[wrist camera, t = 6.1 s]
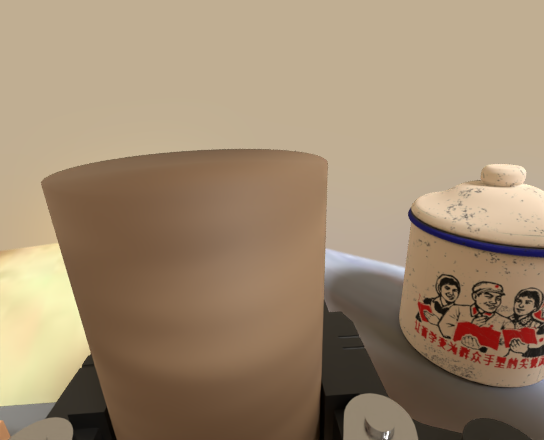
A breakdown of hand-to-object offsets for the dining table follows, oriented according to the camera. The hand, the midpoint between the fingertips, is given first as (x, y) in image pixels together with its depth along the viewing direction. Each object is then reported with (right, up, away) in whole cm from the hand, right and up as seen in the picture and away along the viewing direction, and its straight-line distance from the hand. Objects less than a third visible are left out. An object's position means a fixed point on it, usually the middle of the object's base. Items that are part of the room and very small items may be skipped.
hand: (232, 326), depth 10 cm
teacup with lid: (+16, -5, +10) cm, 20 cm away
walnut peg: (0, -9, 0) cm, 9 cm away
